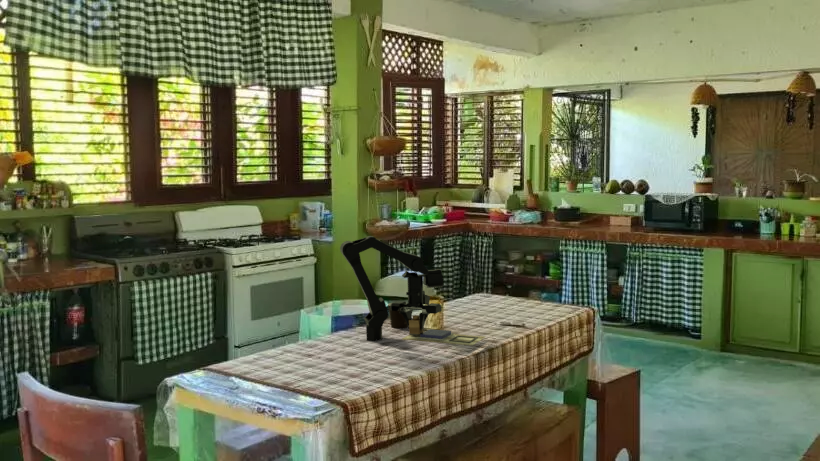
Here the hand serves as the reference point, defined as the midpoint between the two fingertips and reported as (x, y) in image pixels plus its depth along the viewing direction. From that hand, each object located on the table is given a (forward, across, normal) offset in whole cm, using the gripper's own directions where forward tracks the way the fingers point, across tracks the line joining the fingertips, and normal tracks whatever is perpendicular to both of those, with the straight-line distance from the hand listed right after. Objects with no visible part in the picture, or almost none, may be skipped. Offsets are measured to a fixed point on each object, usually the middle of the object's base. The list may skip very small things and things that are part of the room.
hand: (416, 329), depth 285 cm
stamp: (+2, 0, 0) cm, 2 cm away
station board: (+3, -11, 0) cm, 11 cm away
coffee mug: (+3, +12, -13) cm, 18 cm away
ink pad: (+2, -8, 0) cm, 8 cm away
